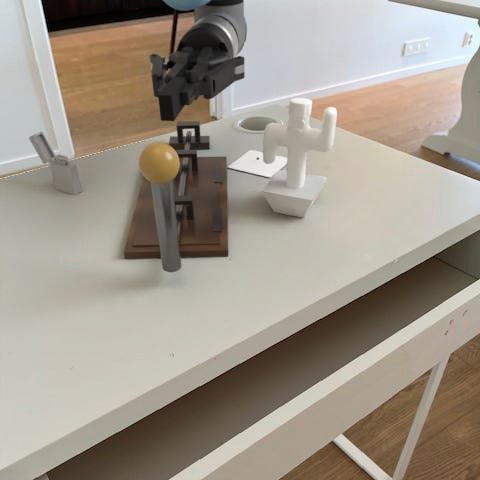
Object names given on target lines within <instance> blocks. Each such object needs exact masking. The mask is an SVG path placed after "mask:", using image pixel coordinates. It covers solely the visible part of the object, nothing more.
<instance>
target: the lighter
mask: <svg viewBox="0 0 480 480" xmlns="http://www.w3.org/2000/svg"><path fill="white" fill-rule="evenodd" d="M28 139H29V142H30V143H31V145H32V146H33V148H34V150H35V152H36V153H37V155H38V157H39V158H40V160H41V162H42V164H47V163H48V164H49V168H50V172H51V175H52V179H53V183H54V187H55V190H57V189H58V190H57V191H60V190H61V192H63V193H66V192H67V194H69V195H71V196H72V195H73V196H76V195H78V194H80V193H81V192H83V188H82V184H81V180H80V175H79V171H78V170H79V169H78V167H77V163H76V162H71V161H69V157H68V156H67V155H64V154H61V153H60V154H59V153H58V154H56V153H55V152H54V150H53V148H52V147H51V144H50V143H49V140H47V138H46V135H45V134H44V132H43V131H39V132H37V133H35V134H32V135H31V136H29V137H28Z"/></svg>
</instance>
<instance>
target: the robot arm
mask: <svg viewBox="0 0 480 480" xmlns="http://www.w3.org/2000/svg"><path fill="white" fill-rule="evenodd" d="M162 1H163V2H164V3H165V4H166V5H167V6H169V7H170V8H172V9H175V10H177V11H184V12H185V11H192V10H194V21H195V22H194V24H193V25H191V26H190V28H189V29H188V30H187V31H185V32H186V33H184V34H183V36H182V37H181V39H180V40H179V42H178V45H177V48H176V51H175V52H171V53H170V54H169V55H168V58H166V56H164V55H161V56H160V55H159V54H156V53H152V54H150V55H149V63H150V71H151V72H150V73H151V83H152V91H153V97H155V98H157V99H158V107H159V115H160V116H159V117H160V121H161V122H175V121H176V119H177V117H178V116H179V115H180V113H181V112H182V110H183V109H184V107H185V106H191V105H192V104H193V103H194V101H197V100H198V99H199V97H201V96H203V99H205V100H211V99H214V98H215V97H216V96H218V95H219V94H220V93H222V92H223V91H225V90H226V89H227V88H229V87H230V86H231V85H233V84H234V83H235V82H237V81H240V80H243V79H245V77H246V75H245V74H246V73H245V71H246V70H245V56H243V55H239V54H240V53H241V51H242V50H243V48H244V46H245V42H247V35H248V23H247V19H246V17H245V1H244V0H162Z"/></svg>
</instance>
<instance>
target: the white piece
mask: <svg viewBox="0 0 480 480" xmlns="http://www.w3.org/2000/svg"><path fill="white" fill-rule="evenodd" d="M285 166H287V156H283V155H282V156H281V155H277V154H276V158H275V161H274V162H273V163H271V164H266V163H264V161H263V151H258V150H255V149H250V150H249V151H247V152H246V153H244V154H243V155H242V156H240V157H239V158H237V159H236V160H235V161H233V162H232V163H230V164H229V165H227V169H228V168H229V169H233V170H237V171H242V172H245V173H248V174H249V173H250V174H253V175H258V176H262V177H266V178H269V179H270V178H271V179H272V178H273V177H274V175H275V174H276V173H277V172H278V171H279V169H280V170H282V168H284V167H285Z"/></svg>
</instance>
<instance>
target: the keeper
mask: <svg viewBox="0 0 480 480" xmlns="http://www.w3.org/2000/svg"><path fill="white" fill-rule="evenodd" d="M184 130H194V131H193V132H194V135H191V144H190V150H193V149H194V150H210V149H211V148H210V147H211V137H210V135H202V134H201V121H200V120H191V121H190V120H189V121H176V135H174V136H172V135H171V136H170V137H169V141H168V145H169V146H171V147H172V148H173V149H174V150H184V148H185V141H186V135H185V134H184Z"/></svg>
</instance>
